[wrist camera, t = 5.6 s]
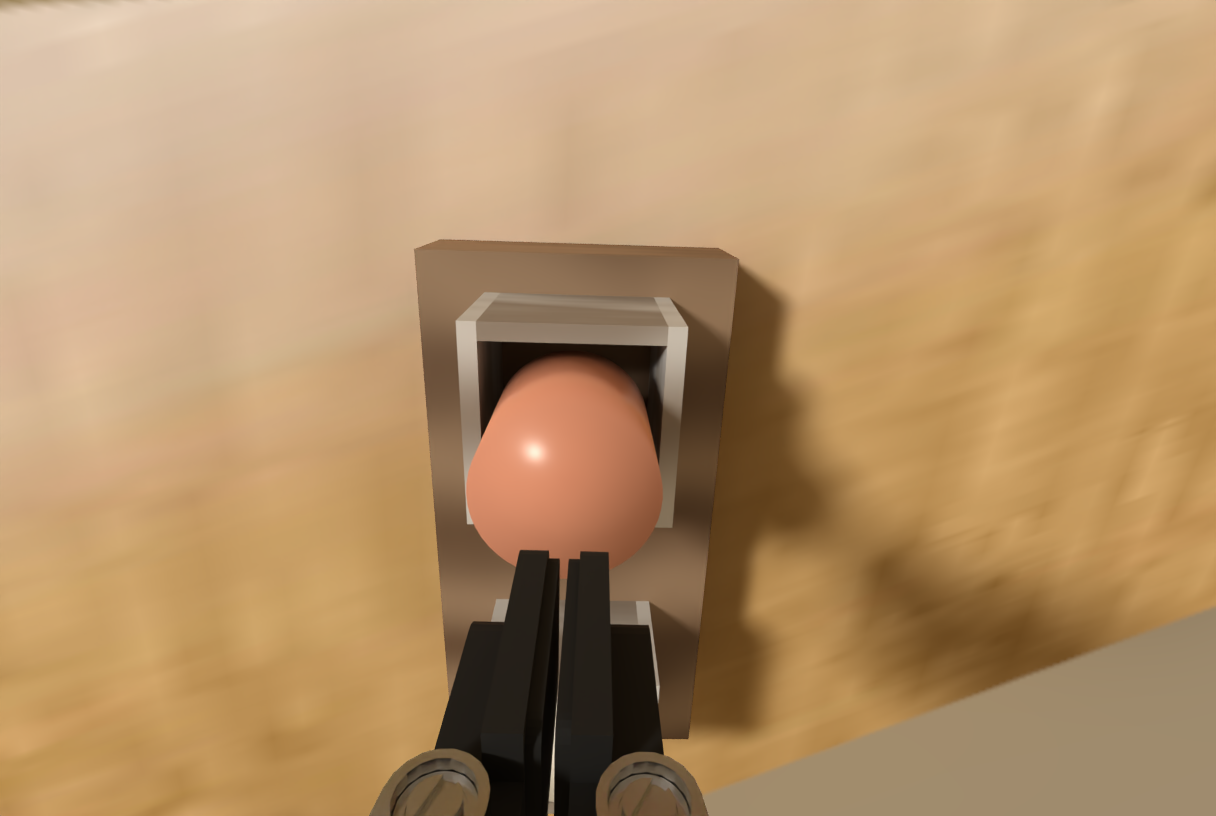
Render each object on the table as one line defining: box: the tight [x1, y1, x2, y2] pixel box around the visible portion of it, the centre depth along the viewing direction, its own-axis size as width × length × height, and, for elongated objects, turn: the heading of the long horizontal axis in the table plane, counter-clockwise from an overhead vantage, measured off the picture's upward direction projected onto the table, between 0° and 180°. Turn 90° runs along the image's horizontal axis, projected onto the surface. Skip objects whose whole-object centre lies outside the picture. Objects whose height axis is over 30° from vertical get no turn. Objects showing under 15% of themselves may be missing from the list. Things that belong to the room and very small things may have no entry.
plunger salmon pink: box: [466, 350, 663, 579], centre depth 18 cm, size 5×5×5 cm
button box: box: [414, 240, 739, 814], centre depth 26 cm, size 24×12×9 cm, turn 178°
